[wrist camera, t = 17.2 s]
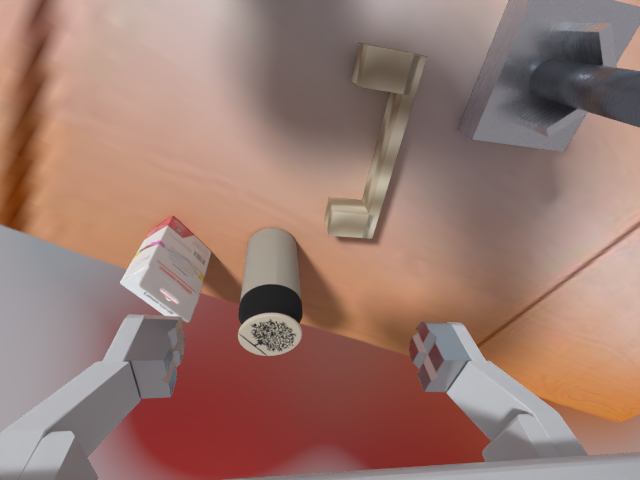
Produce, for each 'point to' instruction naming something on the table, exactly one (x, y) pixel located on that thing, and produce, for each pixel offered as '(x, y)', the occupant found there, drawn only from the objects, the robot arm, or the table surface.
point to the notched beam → (402, 82)
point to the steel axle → (590, 88)
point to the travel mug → (270, 294)
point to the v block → (530, 51)
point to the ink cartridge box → (169, 269)
